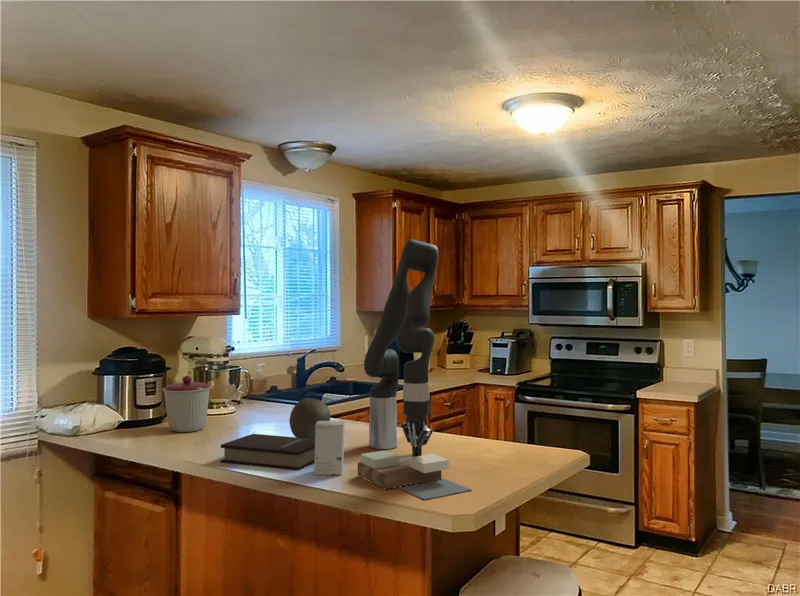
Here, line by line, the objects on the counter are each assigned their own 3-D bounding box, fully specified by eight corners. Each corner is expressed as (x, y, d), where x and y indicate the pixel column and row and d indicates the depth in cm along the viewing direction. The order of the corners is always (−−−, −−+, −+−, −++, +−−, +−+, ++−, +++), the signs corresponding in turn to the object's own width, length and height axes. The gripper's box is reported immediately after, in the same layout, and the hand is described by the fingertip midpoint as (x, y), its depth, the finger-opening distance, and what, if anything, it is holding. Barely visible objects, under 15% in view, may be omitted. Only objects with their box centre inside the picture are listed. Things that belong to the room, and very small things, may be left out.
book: (329, 456, 215) (329, 438, 215) (298, 471, 197) (298, 452, 197) (256, 449, 226) (256, 432, 226) (220, 463, 208) (220, 444, 208)
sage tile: (360, 462, 190) (360, 454, 190) (384, 458, 194) (384, 450, 194) (374, 468, 183) (374, 459, 183) (399, 464, 187) (399, 455, 187)
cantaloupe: (303, 446, 228) (302, 403, 228) (282, 440, 239) (282, 398, 239) (337, 440, 237) (337, 398, 237) (316, 434, 248) (315, 394, 248)
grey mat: (399, 488, 178) (399, 487, 178) (445, 480, 186) (444, 479, 186) (424, 500, 168) (424, 499, 168) (471, 490, 175) (471, 489, 175)
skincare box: (314, 475, 192) (313, 424, 191) (316, 470, 198) (316, 420, 197) (343, 475, 191) (342, 423, 191) (345, 469, 197) (344, 419, 197)
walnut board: (357, 476, 190) (357, 462, 190) (410, 467, 200) (410, 453, 200) (386, 489, 177) (386, 474, 177) (441, 479, 186) (441, 465, 186)
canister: (198, 435, 248) (198, 379, 248) (153, 434, 251) (153, 378, 251) (219, 425, 266) (218, 373, 266) (177, 424, 269) (176, 372, 269)
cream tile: (408, 466, 185) (408, 457, 185) (432, 462, 189) (432, 453, 189) (424, 473, 178) (423, 463, 178) (448, 468, 182) (448, 459, 182)
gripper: (392, 396, 192) (393, 456, 192) (418, 402, 181) (418, 466, 181) (414, 394, 196) (415, 453, 196) (440, 399, 185) (441, 462, 185)
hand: (417, 459), depth 188 cm, fingers closed
